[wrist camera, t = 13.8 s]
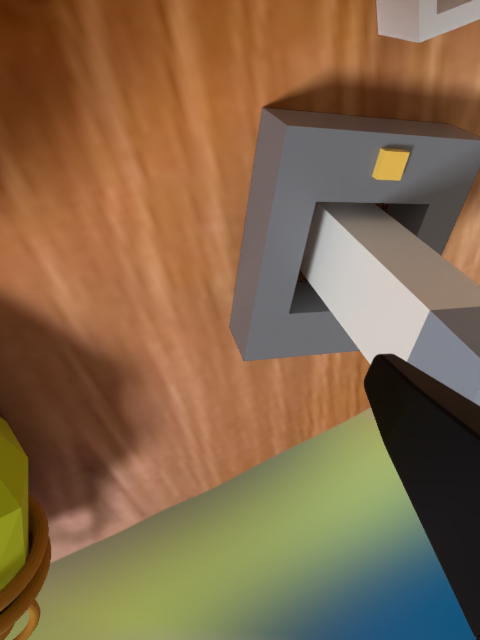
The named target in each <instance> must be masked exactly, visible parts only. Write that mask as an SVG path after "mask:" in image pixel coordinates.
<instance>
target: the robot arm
mask: <svg viewBox="0 0 480 640" xmlns="http://www.w3.org/2000/svg"><path fill="white" fill-rule="evenodd" d="M364 388H365V391H366V394H367V397H368V400H369V403H370V406H371V408H372V411H373V414H374V417H375V420H376V423H377V426H378V428H379V431H380V434H381V437H382V439H383V442H384V445H385V447H386V449H387V451H388V454H389V456H390V458H391V460H392V462H393V464H394V466H395V468H396V470H397V473H398V475H399V477H400V479H401V481H402V483H403V486H404V488H405V490H406V492H407V494H408V496H409V498H410V500H411V503H412V505H413V507H414V509H415V511H416V513H417V515H418V517H419V520H420V522H421V524H422V526H423V528H424V530H425V532H426V534H427V537H428V539H429V541H430V543H431V545H432V547H433V549H434V552H435V554H436V556H437V558H438V560H439V562H440V564H441V566H442V569H443V570H444V573H445V575H446V577H447V579H448V581H449V583H450V586H451V588H452V590H453V592H454V594H455V596H456V598H457V600H458V603H459V605H460V607H461V609H462V611H463V613H464V615H465V617H466V619H467V622H468V624H469V626H470V628H471V630H472V632H473V634H474V636H475V637H476V640H480V406H479V405H477V404H476V403H474V402H473V401H471V400H469V399H468V398H466V397H464V396H463V395H461V394H459V393H458V392H456V391H454V390H453V389H451V388H449V387H448V386H446V385H444V384H443V383H441V382H439V381H438V380H436V379H435V378H433V377H431V376H430V375H428V374H426V373H425V372H423V371H421V370H420V369H418V368H416V367H415V366H413V365H411V364H410V363H408V362H406V361H405V360H403V359H401V358H400V357H398V356H396V355H395V354H391V353H388V354H378V355H376V356H375V357H374V358H373V361H372V363H371V365H370V367H369V370H368V372H367V374H366V376H365V379H364Z"/></svg>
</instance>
